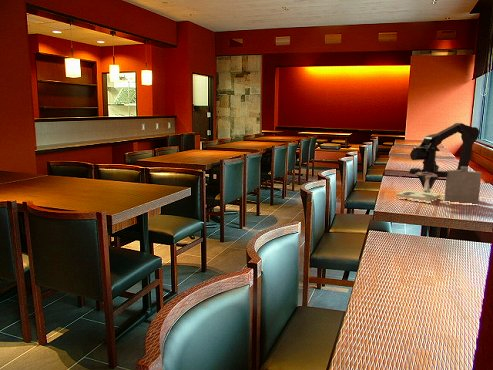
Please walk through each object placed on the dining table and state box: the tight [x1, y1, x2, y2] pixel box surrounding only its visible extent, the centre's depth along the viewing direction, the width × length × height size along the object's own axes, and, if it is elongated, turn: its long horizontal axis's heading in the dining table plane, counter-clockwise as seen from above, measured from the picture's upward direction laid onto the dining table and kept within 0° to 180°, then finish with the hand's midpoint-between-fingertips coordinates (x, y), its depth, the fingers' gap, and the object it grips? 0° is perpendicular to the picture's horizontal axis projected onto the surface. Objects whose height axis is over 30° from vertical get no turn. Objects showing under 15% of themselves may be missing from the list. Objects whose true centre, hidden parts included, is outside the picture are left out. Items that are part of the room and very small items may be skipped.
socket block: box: [396, 189, 441, 201], centre depth 232 cm, size 18×14×3 cm
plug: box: [423, 176, 432, 193], centre depth 228 cm, size 3×3×8 cm
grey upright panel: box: [443, 166, 482, 205], centre depth 219 cm, size 16×4×20 cm, turn 66°
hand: (427, 188), depth 228 cm, fingers closed on plug, 3 cm apart
